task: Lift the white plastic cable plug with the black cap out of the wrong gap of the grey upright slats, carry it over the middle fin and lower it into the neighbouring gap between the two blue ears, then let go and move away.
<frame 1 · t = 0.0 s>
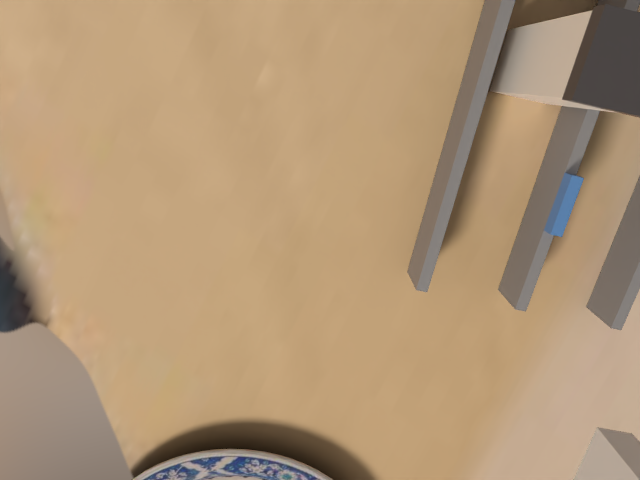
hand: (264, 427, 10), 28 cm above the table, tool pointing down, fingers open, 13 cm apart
grey upright slats: (556, 137, 36), on the table
plug: (526, 67, 35), on the table
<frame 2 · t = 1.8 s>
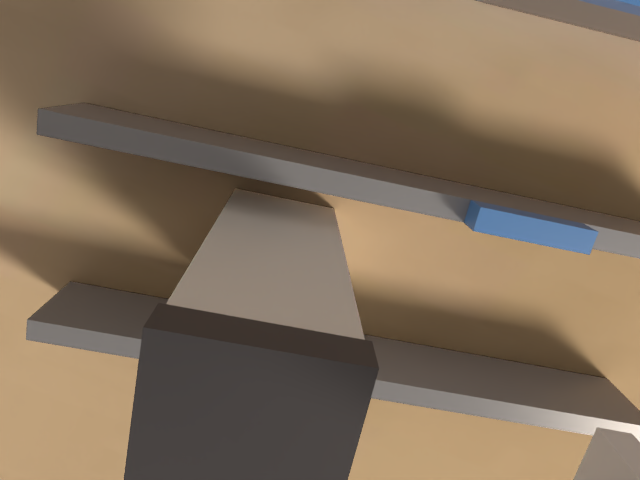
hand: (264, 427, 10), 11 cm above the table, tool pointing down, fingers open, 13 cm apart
grey upright slats: (392, 178, 20), on the table
plug: (275, 245, 21), on the table
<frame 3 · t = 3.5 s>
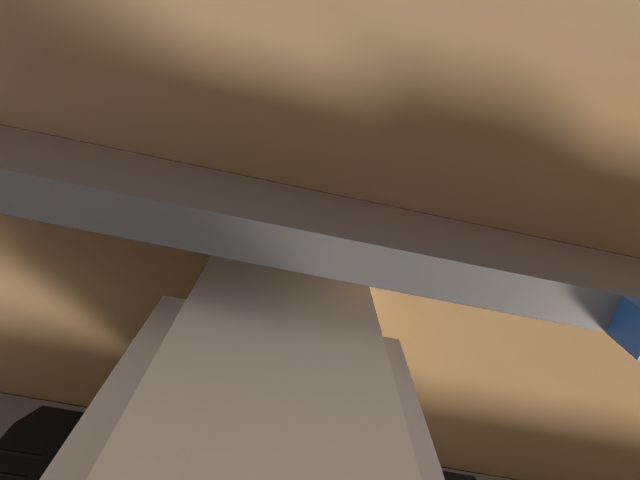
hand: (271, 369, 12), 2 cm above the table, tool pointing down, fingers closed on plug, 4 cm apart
grey upright slats: (461, 237, 13), on the table
plug: (276, 335, 14), on the table, touching gripper
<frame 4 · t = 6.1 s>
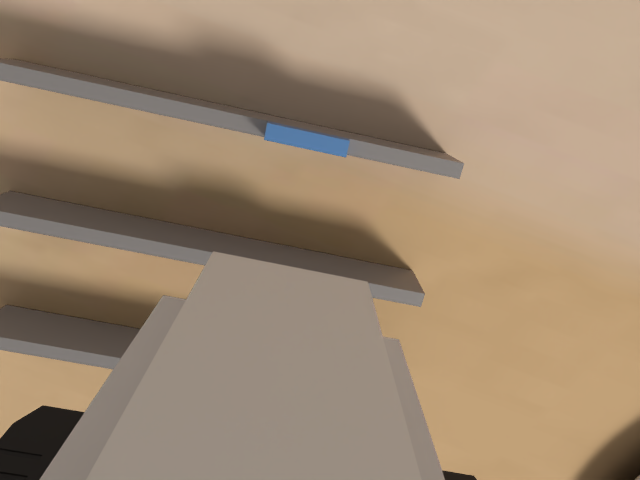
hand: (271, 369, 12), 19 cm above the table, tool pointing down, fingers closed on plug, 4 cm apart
grey upright slats: (216, 238, 31), on the table
plug: (276, 335, 14), point 17 cm above the table, touching gripper
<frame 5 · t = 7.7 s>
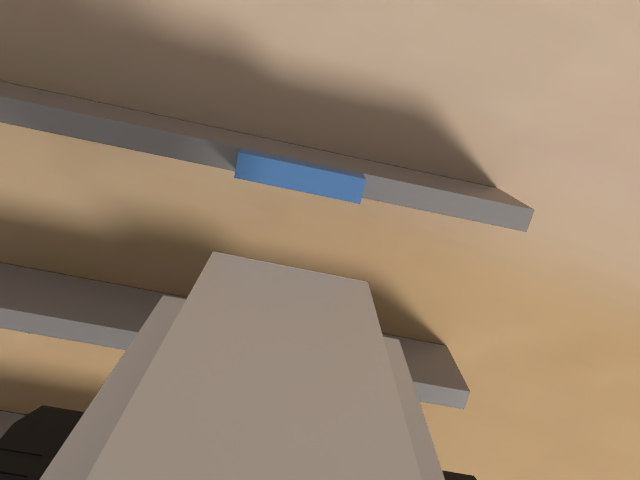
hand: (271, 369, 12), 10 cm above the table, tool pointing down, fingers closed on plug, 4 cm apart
grey upright slats: (176, 304, 22), on the table
plug: (276, 335, 14), point 8 cm above the table, touching gripper
when the fingers open (3 cm above the table, at t = 9.2 s): plug drops 1 cm, on the table.
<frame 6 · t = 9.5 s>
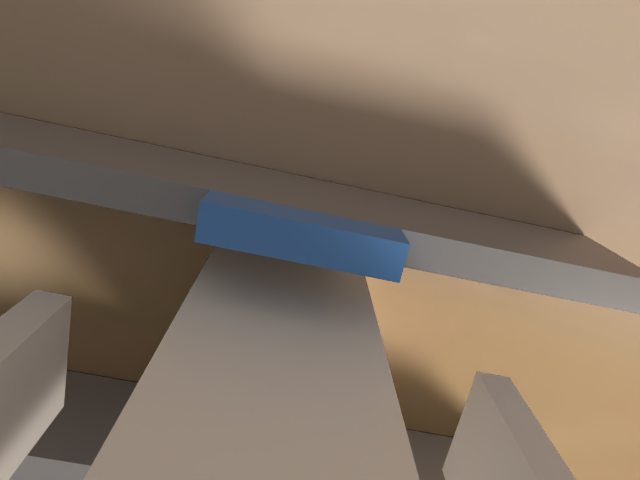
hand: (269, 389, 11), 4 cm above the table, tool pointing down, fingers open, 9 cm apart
grey upright slats: (129, 392, 16), on the table
plug: (278, 310, 15), on the table
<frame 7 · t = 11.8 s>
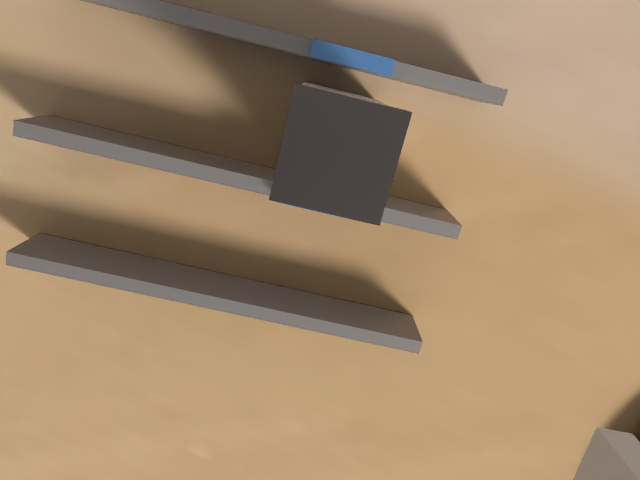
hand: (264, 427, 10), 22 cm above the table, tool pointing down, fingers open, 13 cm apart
grey upright slats: (251, 170, 31), on the table
plug: (331, 125, 30), on the table
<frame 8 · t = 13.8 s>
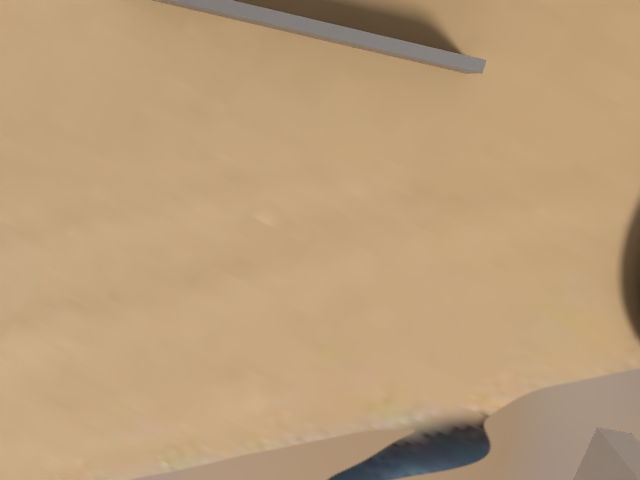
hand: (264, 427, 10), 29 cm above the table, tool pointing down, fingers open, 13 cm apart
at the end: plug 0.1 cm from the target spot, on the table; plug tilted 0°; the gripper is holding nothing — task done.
